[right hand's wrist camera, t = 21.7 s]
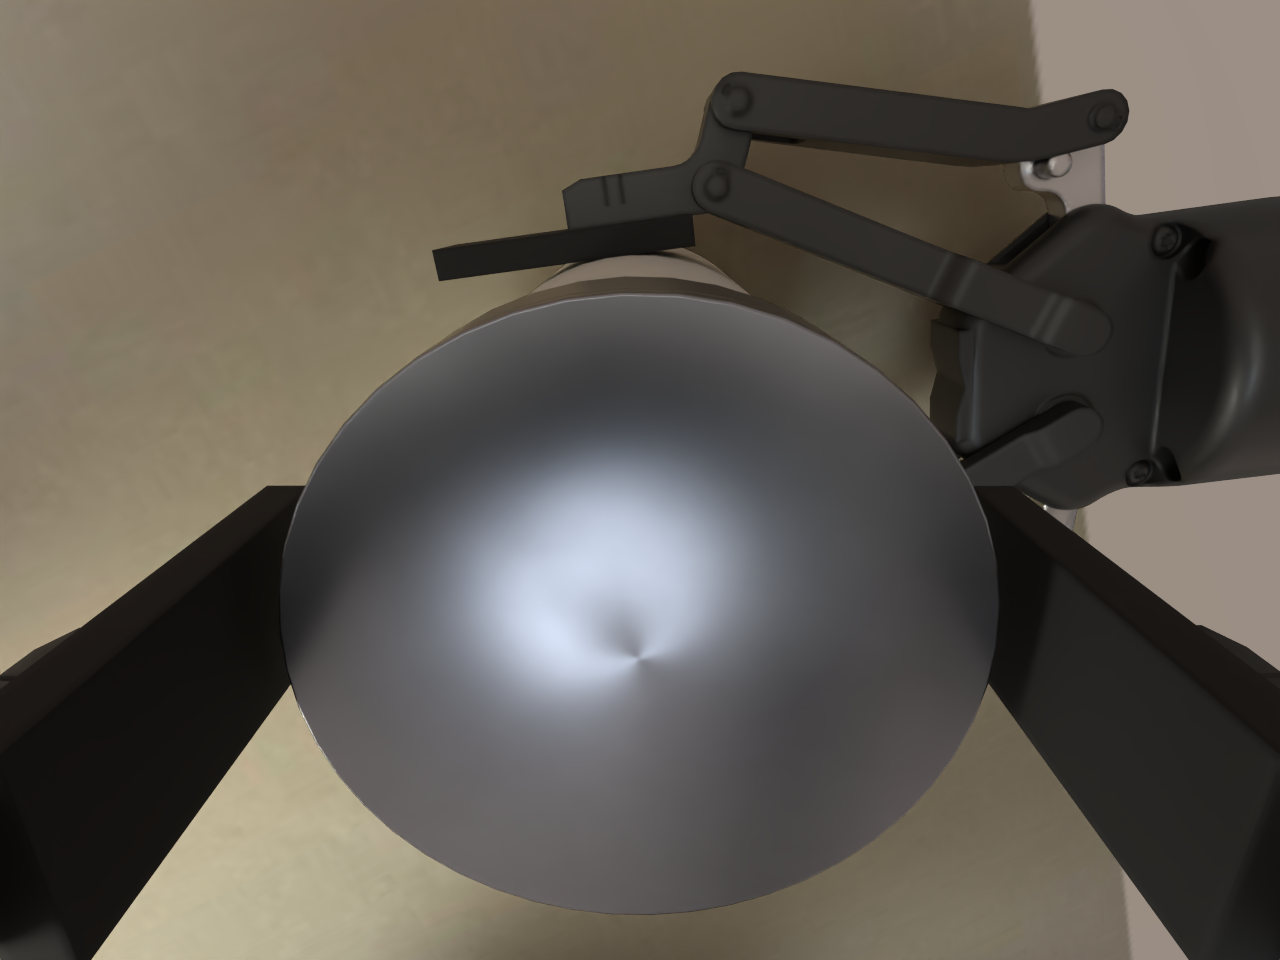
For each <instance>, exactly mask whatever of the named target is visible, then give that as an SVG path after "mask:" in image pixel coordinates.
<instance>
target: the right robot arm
mask: <svg viewBox="0 0 1280 960" xmlns="http://www.w3.org/2000/svg"><path fill="white" fill-rule="evenodd" d="M304 488H305V486H266V487H265V488H264V489H262V490H261V491H260V492H258V493H257V494H256V495H254V496H253V497H252V498H250V499H249V500H248V501H246V502H245V503H244V504H243V505H241V506H240V507H239V508H237V509H236V510H235V511H233V512H232V513H231V514H229V515H228V516H227V517H225V518H224V519H223V520H221V521H220V522H219V523H218V524H216V525H215V526H214V527H212V528H211V529H210V530H208V531H207V532H206V533H204V534H203V535H202V536H200V537H199V538H198V539H197V540H195V541H194V542H193V543H191V544H190V545H189V546H187V547H186V548H185V549H183V550H182V551H181V552H179V553H178V554H177V555H176V556H174V557H173V558H172V559H170V560H169V561H168V562H166V563H165V564H164V565H162V566H161V567H160V568H158V569H157V570H156V571H155V572H153V573H152V574H151V575H149V576H148V577H147V578H145V579H144V580H143V581H141V582H140V583H139V584H137V585H136V586H135V587H134V588H132V589H131V590H130V591H128V592H127V593H126V594H124V595H123V596H122V597H120V598H119V599H118V600H116V601H115V602H114V603H113V604H111V605H110V606H109V607H107V608H106V609H105V610H103V611H102V612H101V613H99V614H98V615H97V616H95V617H94V618H93V619H92V620H90V621H89V622H88V623H86V624H85V625H84V626H82V627H81V628H78V629H76V630H74V631H72V632H70V633H68V634H66V635H64V636H62V637H60V638H58V639H55V640H53V641H51V642H49V643H47V644H45V645H43V646H41V647H39V648H37V649H35V650H33V651H32V652H31V653H29V654H28V655H27V656H25V657H24V658H23V659H21V660H20V661H18V662H17V663H16V664H14V665H13V666H12V667H10V668H9V669H8V670H6V671H5V672H4V673H2V674H1V675H0V960H91V959H92V958H93V957H94V955H95V954H96V952H97V951H98V950H99V948H100V947H101V945H102V944H103V943H104V941H105V940H106V939H107V937H108V936H109V934H110V933H111V932H112V930H113V929H114V928H115V926H116V925H117V923H118V922H119V921H120V919H121V918H122V916H123V915H124V914H125V912H126V911H127V910H128V908H129V907H130V905H131V904H132V903H133V901H134V900H135V899H136V897H137V896H138V894H139V893H140V892H141V890H142V889H143V887H144V886H145V885H146V883H147V882H148V881H149V879H150V878H151V876H152V875H153V874H154V872H155V871H156V870H157V868H158V867H159V865H160V864H161V863H162V861H163V860H164V858H165V857H166V856H167V854H168V853H169V852H170V850H171V849H172V847H173V846H174V845H175V843H176V842H177V841H178V839H179V838H180V836H181V835H182V834H183V832H184V831H185V829H186V828H187V827H188V825H189V824H190V823H191V821H192V820H193V818H194V817H195V816H196V814H197V813H198V812H199V810H200V809H201V807H202V806H203V805H204V803H205V802H206V800H207V799H208V798H209V796H210V795H211V794H212V792H213V791H214V789H215V788H216V787H217V785H218V784H219V783H220V781H221V780H222V778H223V777H224V776H225V774H226V773H227V771H228V770H229V769H230V767H231V766H232V765H233V763H234V762H235V760H236V759H237V758H238V756H239V755H240V754H241V752H242V751H243V749H244V748H245V747H246V745H247V744H248V742H249V741H250V740H251V738H252V737H253V736H254V734H255V733H256V731H257V730H258V729H259V727H260V726H261V725H262V723H263V722H264V720H265V719H266V718H267V716H268V715H269V713H270V712H271V711H272V709H273V708H274V707H275V705H276V704H277V702H278V701H279V700H280V698H281V697H282V696H283V694H284V693H285V691H286V690H287V689H288V687H289V686H290V684H291V683H290V680H289V677H288V673H287V670H286V665H285V660H284V654H283V648H282V642H281V637H280V631H279V589H278V588H279V580H280V573H281V566H282V558H283V551H284V545H285V541H286V538H287V535H288V531H289V528H290V525H291V521H292V518H293V515H294V511H295V508H296V505H297V502H298V500H299V498H300V496H301V494H302V492H303V490H304ZM974 489H975V491H976V494H977V496H978V499H979V501H980V504H981V506H982V508H983V511H984V513H985V516H986V518H987V521H988V526H989V530H990V534H991V538H992V543H993V547H994V551H995V555H996V559H997V568H998V582H999V595H1000V614H999V626H998V639H997V647H996V652H995V656H994V660H993V665H992V669H991V673H990V678H989V682H988V683H989V684H990V686H991V687H992V689H993V690H994V691H995V693H996V694H997V695H998V697H999V698H1000V700H1001V701H1002V702H1003V704H1004V705H1005V707H1006V708H1007V709H1008V711H1009V712H1010V713H1011V715H1012V716H1013V718H1014V719H1015V720H1016V722H1017V723H1018V725H1019V726H1020V727H1021V729H1022V730H1023V731H1024V733H1025V734H1026V736H1027V737H1028V738H1029V740H1030V741H1031V742H1032V744H1033V745H1034V747H1035V748H1036V749H1037V751H1038V752H1039V754H1040V755H1041V756H1042V758H1043V759H1044V760H1045V762H1046V763H1047V765H1048V766H1049V767H1050V769H1051V770H1052V771H1053V773H1054V774H1055V776H1056V777H1057V778H1058V780H1059V781H1060V783H1061V784H1062V785H1063V787H1064V788H1065V789H1066V791H1067V792H1068V794H1069V795H1070V796H1071V798H1072V799H1073V800H1074V802H1075V803H1076V805H1077V806H1078V807H1079V809H1080V810H1081V812H1082V813H1083V814H1084V816H1085V817H1086V818H1087V820H1088V821H1089V823H1090V824H1091V825H1092V827H1093V828H1094V829H1095V831H1096V832H1097V834H1098V835H1099V836H1100V838H1101V839H1102V841H1103V842H1104V843H1105V845H1106V846H1107V847H1108V849H1109V850H1110V852H1111V853H1112V854H1113V856H1114V857H1115V858H1116V860H1117V861H1118V863H1119V864H1120V865H1121V867H1122V868H1123V870H1124V871H1125V872H1126V874H1127V875H1128V876H1129V878H1130V879H1131V881H1132V882H1133V883H1134V885H1135V886H1136V887H1137V889H1138V890H1139V892H1140V893H1141V894H1142V896H1143V897H1144V898H1145V900H1146V901H1147V903H1148V904H1149V905H1150V907H1151V908H1152V910H1153V911H1154V912H1155V914H1156V915H1157V916H1158V918H1159V919H1160V921H1161V922H1162V923H1163V925H1164V926H1165V927H1166V929H1167V930H1168V932H1169V933H1170V934H1171V936H1172V937H1173V938H1174V940H1175V941H1176V943H1177V944H1178V945H1179V947H1180V948H1181V950H1182V951H1183V952H1184V954H1185V955H1186V956H1187V958H1188V959H1189V960H1280V671H1279V670H1277V669H1276V668H1275V667H1273V666H1272V665H1270V664H1269V663H1268V662H1266V661H1265V660H1264V659H1262V658H1261V657H1260V656H1258V655H1257V654H1255V653H1254V652H1253V651H1251V650H1250V649H1249V648H1247V647H1246V646H1243V645H1241V644H1239V643H1237V642H1235V641H1233V640H1231V639H1229V638H1227V637H1225V636H1223V635H1221V634H1219V633H1216V632H1215V631H1212V630H1210V629H1208V628H1206V627H1204V626H1202V625H1195V624H1194V623H1192V622H1191V621H1190V620H1188V619H1187V618H1186V617H1185V616H1183V615H1182V614H1181V613H1179V612H1178V611H1177V610H1175V609H1174V608H1173V607H1171V606H1170V605H1169V604H1167V603H1166V602H1165V601H1163V600H1162V599H1161V598H1160V597H1158V596H1157V595H1156V594H1154V593H1153V592H1152V591H1150V590H1149V589H1148V588H1146V587H1145V586H1144V585H1142V584H1141V583H1140V582H1139V581H1137V580H1136V579H1135V578H1133V577H1132V576H1131V575H1129V574H1128V573H1127V572H1125V571H1124V570H1123V569H1121V568H1120V567H1119V566H1118V565H1116V564H1115V563H1114V562H1112V561H1111V560H1110V559H1108V558H1107V557H1106V556H1104V555H1103V554H1102V553H1101V552H1099V551H1098V550H1097V549H1095V548H1094V547H1093V546H1091V545H1090V544H1089V543H1087V542H1086V541H1085V540H1083V539H1082V538H1081V537H1080V536H1078V535H1077V534H1076V533H1074V532H1073V531H1072V530H1070V529H1069V528H1068V527H1066V526H1065V525H1064V524H1062V523H1061V522H1060V521H1059V520H1057V519H1056V518H1055V517H1053V516H1052V515H1051V514H1049V513H1048V512H1047V511H1045V510H1044V509H1043V508H1041V507H1040V506H1039V505H1037V504H1036V503H1035V502H1034V501H1032V500H1031V499H1030V498H1028V497H1027V496H1026V495H1024V494H1023V493H1022V492H1020V491H1019V490H1018V489H1016V488H1015V487H1014V486H974Z"/></svg>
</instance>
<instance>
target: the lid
mask: <svg viewBox="0 0 1280 960" xmlns="http://www.w3.org/2000/svg"><path fill="white" fill-rule="evenodd" d="M278 589H279V631H280V637H281V642H282V648H283V654H284V660H285V665H286V670H287V673H288V677H289V680H290V683H291V686H292V689H293V692H294V695H295V698H296V701H297V704H298V707H299V709H300V711H301V713H302V715H303V717H304V719H305V721H306V723H307V725H308V727H309V729H310V731H311V733H312V736H313V738H314V740H315V742H316V743H317V745H318V746H319V748H320V749H321V751H322V752H323V754H324V755H325V757H326V758H327V760H328V761H329V763H330V764H331V766H332V767H333V769H334V770H335V772H336V773H337V775H338V776H339V777H340V778H341V780H342V781H343V782H344V783H345V784H346V785H347V786H348V788H349V789H350V790H351V791H352V792H353V793H354V794H355V796H356V797H357V798H358V799H359V800H360V801H361V802H362V804H363V805H364V806H365V807H366V808H368V809H369V810H370V811H371V812H372V813H373V814H374V815H375V816H376V817H377V818H379V819H380V820H381V821H382V822H383V823H384V824H385V825H386V826H387V827H389V828H390V829H391V830H392V831H393V832H394V833H396V834H397V835H399V836H400V837H401V838H403V839H404V840H406V841H407V842H408V843H410V844H411V845H413V846H414V847H415V848H417V849H418V850H420V851H421V852H422V853H424V854H425V855H427V856H429V857H431V858H432V859H434V860H436V861H438V862H439V863H441V864H443V865H445V866H447V867H448V868H450V869H452V870H454V871H455V872H457V873H459V874H461V875H464V876H466V877H468V878H470V879H473V880H475V881H477V882H480V883H482V884H484V885H487V886H489V887H491V888H494V889H496V890H499V891H502V892H505V893H509V894H512V895H515V896H518V897H521V898H524V899H528V900H531V901H534V902H539V903H543V904H548V905H553V906H558V907H562V908H567V909H572V910H580V911H589V912H597V913H606V914H633V915H656V914H669V913H682V912H693V911H698V910H704V909H710V908H716V907H721V906H727V905H732V904H735V903H739V902H743V901H746V900H750V899H754V898H757V897H761V896H764V895H768V894H771V893H773V892H776V891H778V890H781V889H784V888H786V887H789V886H791V885H794V884H797V883H799V882H802V881H804V880H807V879H808V878H810V877H812V876H814V875H816V874H818V873H820V872H822V871H824V870H826V869H828V868H830V867H832V866H834V865H836V864H838V863H840V862H841V861H843V860H845V859H846V858H848V857H849V856H851V855H852V854H854V853H855V852H857V851H858V850H860V849H861V848H863V847H864V846H866V845H868V844H869V843H871V842H872V841H874V840H875V839H876V838H877V837H878V836H880V835H881V834H882V833H883V832H884V831H886V830H887V829H888V828H889V827H891V826H892V825H893V824H894V823H895V822H897V821H898V820H899V819H900V818H901V817H903V816H904V815H905V814H906V813H907V812H908V811H909V810H910V809H911V807H912V806H913V805H914V804H915V803H916V802H917V801H918V800H919V799H920V798H921V797H922V796H923V795H924V794H925V793H926V792H927V791H928V790H929V789H930V788H931V786H932V785H933V784H934V782H935V781H936V780H937V778H938V777H939V776H940V774H941V773H942V772H943V770H944V769H945V768H946V766H947V765H948V764H949V762H950V761H951V759H952V758H953V757H954V755H955V754H956V752H957V750H958V748H959V746H960V745H961V743H962V741H963V739H964V737H965V736H966V734H967V732H968V730H969V728H970V727H971V725H972V723H973V721H974V719H975V716H976V714H977V711H978V709H979V706H980V703H981V701H982V698H983V696H984V693H985V691H986V688H987V685H988V682H989V678H990V673H991V669H992V665H993V660H994V656H995V652H996V647H997V639H998V626H999V614H1000V595H999V582H998V568H997V559H996V555H995V551H994V547H993V543H992V538H991V534H990V530H989V526H988V521H987V518H986V516H985V513H984V511H983V508H982V506H981V504H980V501H979V499H978V496H977V494H976V491H975V489H974V486H973V484H972V482H971V479H970V477H969V476H968V474H967V472H966V471H965V469H964V467H963V466H962V464H961V462H960V461H959V459H958V457H957V456H956V454H955V453H954V451H953V449H952V448H951V446H950V444H949V443H948V441H947V439H946V438H945V437H944V436H943V434H942V433H941V432H940V431H939V430H938V428H937V427H936V426H935V425H934V424H933V422H932V421H931V420H930V419H929V418H928V417H927V415H926V414H925V413H924V412H923V411H922V409H921V408H920V407H919V406H918V405H917V403H916V402H915V401H914V400H912V399H911V398H910V397H909V396H908V395H907V394H906V393H905V392H903V391H902V390H901V389H900V388H899V387H898V386H897V385H895V384H894V383H893V382H892V381H891V380H890V379H889V378H888V377H886V376H885V375H884V374H883V373H882V372H881V371H880V370H878V369H877V368H876V367H874V366H873V365H872V364H870V363H869V362H867V361H866V360H864V359H863V358H862V357H860V356H859V355H857V354H856V353H854V352H853V351H852V350H850V349H849V348H847V347H846V346H844V345H843V344H842V343H840V342H839V341H837V340H836V339H834V338H833V337H831V336H830V335H828V334H826V333H825V332H823V331H822V330H820V329H819V328H817V327H816V326H814V325H813V324H811V323H810V322H808V321H806V320H805V319H803V318H802V317H800V316H798V315H795V314H793V313H791V312H789V311H787V310H785V309H783V308H780V307H778V306H776V305H774V304H772V303H770V302H768V301H765V300H763V299H761V298H758V297H755V296H751V295H748V294H745V293H742V292H738V291H735V290H732V289H729V288H725V287H722V286H719V285H714V284H708V283H702V282H696V281H690V280H684V279H677V278H670V277H632V276H623V277H614V278H605V279H596V280H587V281H578V282H574V283H570V284H566V285H562V286H558V287H554V288H550V289H546V290H542V291H538V292H534V293H532V294H529V295H527V296H524V297H522V298H519V299H517V300H514V301H512V302H509V303H507V304H504V305H502V306H499V307H497V308H494V309H492V310H490V311H488V312H487V313H485V314H483V315H481V316H480V317H478V318H476V319H475V320H473V321H471V322H469V323H468V324H466V325H464V326H462V327H461V328H459V329H457V330H455V331H454V332H452V333H451V334H449V335H448V336H446V337H445V338H444V339H442V340H441V341H439V342H438V343H436V344H435V345H434V346H432V347H431V348H429V349H428V350H426V351H425V352H424V353H422V354H421V355H419V356H418V357H416V358H415V359H414V360H413V361H411V362H410V363H409V364H407V365H406V366H405V367H404V368H402V369H401V370H400V371H399V372H397V373H396V374H395V375H393V376H392V377H391V378H390V379H388V380H387V381H386V382H385V383H383V384H382V385H381V386H379V387H378V388H377V389H376V390H375V391H374V392H373V393H372V394H371V395H370V396H369V397H368V398H367V400H366V401H365V402H364V403H363V404H362V405H361V406H360V407H359V408H358V409H357V410H356V411H355V412H354V413H353V414H352V415H351V416H350V418H349V419H348V420H347V421H346V422H345V423H344V424H343V425H342V427H341V428H340V430H339V431H338V432H337V434H336V435H335V437H334V438H333V440H332V441H331V443H330V444H329V445H328V447H327V448H326V450H325V451H324V453H323V454H322V456H321V457H320V458H319V460H318V461H317V463H316V465H315V467H314V469H313V471H312V473H311V475H310V477H309V479H308V481H307V484H306V486H305V488H304V490H303V492H302V494H301V496H300V498H299V500H298V502H297V505H296V508H295V511H294V515H293V518H292V521H291V525H290V528H289V531H288V535H287V538H286V541H285V545H284V551H283V558H282V566H281V573H280V580H279V588H278Z"/></svg>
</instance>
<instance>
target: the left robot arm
mask: <svg viewBox="0 0 1280 960" xmlns="http://www.w3.org/2000/svg"><path fill="white" fill-rule="evenodd" d="M1128 115H1129V107H1128V102H1127V100H1126V98H1125V97H1124V96H1123V95H1122V93H1120V92H1118V91H1116V90H1114V89H1106V90H1099V91H1095V92H1091V93H1087V94H1083V95H1079V96H1074V97H1070V98H1067V99H1062V100H1058V101H1054V102H1050V103H1046V104H1042V105H1038V106H1034V107H1030V108H1023V107H1015V106H1007V105H999V104H991V103H983V102H976V101H968V100H960V99H952V98H944V97H936V96H928V95H921V94H913V93H905V92H897V91H889V90H881V89H873V88H866V87H858V86H850V85H842V84H834V83H826V82H818V81H811V80H803V79H795V78H787V77H779V76H771V75H764V74H756V73H748V72H733V73H730V74H728V75H727V76H725V77H723V78H722V79H721V80H720V82H719V83H718V84H717V85H716V87H715V88H714V90H713V91H712V93H711V94H710V96H709V97H708V99H707V101H706V104H705V107H704V115H703V119H702V124H701V128H700V132H699V137H698V141H697V145H696V148H695V150H694V152H693V154H692V155H691V157H690V158H689V159H688V160H687V161H685V162H683V163H682V164H679V165H676V166H671V167H664V168H657V169H650V170H643V171H636V172H629V173H622V174H615V175H608V176H601V177H594V178H587V179H580V180H579V181H577V182H575V183H574V184H572V185H571V186H569V187H567V188H566V189H564V190H562V193H563V200H564V206H565V213H566V219H567V225H568V229H565V230H558V231H551V232H543V233H536V234H529V235H522V236H515V237H507V238H500V239H493V240H486V241H479V242H472V243H464V244H457V245H453V246H449V247H444V248H440V249H436V250H432V252H433V256H434V261H435V265H436V270H437V274H438V279H439V281H444V280H451V279H459V278H466V277H473V276H481V275H488V274H495V273H502V272H510V271H517V270H524V269H532V268H539V267H546V266H554V265H561V264H568V263H575V262H583V261H590V260H597V259H605V258H612V257H619V256H626V255H634V254H641V253H648V252H656V251H663V250H670V249H677V248H685V247H692V246H695V238H694V228H693V218H692V215H698V214H706V213H709V214H712V215H714V216H717V217H719V218H722V219H724V220H727V221H729V222H732V223H734V224H737V225H739V226H742V227H745V228H747V229H750V230H752V231H755V232H757V233H760V234H762V235H765V236H767V237H770V238H772V239H775V240H777V241H780V242H783V243H785V244H788V245H790V246H793V247H795V248H798V249H800V250H803V251H805V252H808V253H810V254H813V255H816V256H818V257H821V258H823V259H826V260H828V261H831V262H833V263H836V264H838V265H841V266H843V267H846V268H849V269H851V270H854V271H856V272H859V273H861V274H864V275H866V276H869V277H871V278H874V279H876V280H879V281H882V282H884V283H887V284H889V285H892V286H894V287H897V288H899V289H901V290H904V291H906V292H909V293H911V294H914V295H916V296H919V297H921V298H924V299H926V300H929V301H931V302H934V303H936V304H939V305H942V306H943V307H942V309H941V312H940V314H939V317H938V319H933V320H931V343H930V346H931V350H932V353H933V357H934V361H935V364H936V368H937V375H936V378H935V382H934V386H933V389H932V393H931V396H930V420H931V421H932V422H933V424H934V425H935V426H936V427H937V428H938V430H939V431H940V432H941V433H942V434H943V436H944V437H945V438H946V439H947V441H948V443H949V444H950V446H951V448H952V449H953V451H954V453H955V454H956V456H957V457H958V459H959V458H960V457H962V458H963V459H964V460H962V461H960V462H961V464H962V466H963V467H964V469H965V471H966V472H967V474H968V476H969V477H970V479H971V482H972V484H973V486H1014V487H1015V488H1016V489H1018V490H1019V491H1020V492H1022V493H1024V494H1026V495H1027V496H1029V498H1030V499H1031V500H1032V501H1034V502H1035V503H1036V504H1037V505H1039V506H1040V507H1041V508H1043V509H1044V510H1045V511H1047V512H1048V513H1049V514H1051V515H1052V516H1053V517H1055V518H1056V519H1057V520H1059V521H1060V522H1061V523H1062V524H1064V525H1065V526H1066V527H1068V528H1069V529H1070V530H1072V531H1073V528H1074V523H1075V518H1076V513H1077V509H1079V508H1083V507H1085V506H1088V505H1090V504H1092V503H1093V502H1095V501H1097V500H1098V499H1100V498H1101V497H1103V496H1105V495H1107V494H1109V493H1112V492H1114V491H1116V490H1119V489H1122V488H1127V487H1160V486H1180V485H1189V484H1197V483H1205V482H1214V481H1222V480H1231V479H1239V478H1247V477H1256V476H1264V475H1272V474H1280V196H1279V197H1268V198H1261V199H1254V200H1246V201H1239V202H1232V203H1225V204H1217V205H1209V206H1202V207H1195V208H1187V209H1180V210H1173V211H1166V212H1158V213H1151V214H1143V215H1132V214H1129V213H1126V212H1124V211H1122V210H1120V209H1118V208H1116V207H1114V206H1110V205H1106V204H1105V158H1104V144H1106V143H1108V142H1110V141H1112V140H1114V139H1115V138H1116V137H1117V136H1118V135H1119V134H1120V133H1121V132H1122V131H1123V129H1124V127H1125V125H1126V123H1127V121H1128ZM751 141H759V142H767V143H775V144H783V145H791V146H799V147H807V148H815V149H823V150H831V151H840V152H848V153H856V154H864V155H872V156H880V157H888V158H896V159H904V160H912V161H920V162H928V163H937V164H945V165H953V166H967V167H976V166H990V165H1000V164H1004V169H1003V172H1004V176H1005V180H1006V181H1007V183H1008V185H1009V186H1010V187H1011V188H1012V189H1014V190H1017V191H1022V192H1034V193H1036V194H1039V195H1040V196H1041V197H1042V198H1043V199H1044V201H1045V202H1046V204H1047V210H1048V212H1047V213H1046V214H1044V215H1043V216H1042V217H1040V218H1039V219H1038V220H1037V221H1036V222H1035V223H1033V224H1032V225H1031V226H1030V227H1029V228H1027V229H1026V230H1025V231H1024V232H1023V233H1022V234H1020V235H1019V236H1018V237H1017V238H1016V239H1015V240H1013V241H1012V242H1011V243H1010V244H1009V245H1008V246H1006V247H1005V248H1004V249H1003V250H1002V251H1000V252H999V253H998V254H997V255H996V256H995V257H993V258H992V259H991V260H990V261H989V262H988V263H986V264H984V263H982V262H979V261H976V260H974V259H971V258H968V257H965V256H962V255H958V254H955V253H952V252H950V251H947V250H945V249H942V248H940V247H937V246H935V245H932V244H930V243H927V242H925V241H922V240H920V239H917V238H915V237H912V236H910V235H908V234H905V233H903V232H900V231H898V230H895V229H893V228H890V227H888V226H885V225H883V224H880V223H878V222H875V221H873V220H870V219H868V218H866V217H863V216H861V215H858V214H856V213H853V212H851V211H848V210H846V209H843V208H841V207H838V206H836V205H833V204H831V203H828V202H826V201H824V200H821V199H819V198H816V197H814V196H811V195H809V194H806V193H804V192H801V191H799V190H796V189H794V188H791V187H789V186H786V185H784V184H782V183H779V182H777V181H774V180H772V179H769V178H767V177H764V176H762V175H759V174H757V173H754V172H752V171H749V170H747V169H744V167H745V163H746V159H747V155H748V151H749V147H750V143H751Z"/></svg>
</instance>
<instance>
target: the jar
mask: <svg viewBox="0 0 1280 960" xmlns="http://www.w3.org/2000/svg"><path fill="white" fill-rule="evenodd" d="M623 276H632V277H670V278H677V279H684V280H690V281H696V282H702V283H708V284H714V285H719V286H722V287H725V288H729V289H732V290H735V291H738V292H742V293H745V294H748V295H750V294H749V293H747V292H746V291H745V290H744V289H743V288H741V287H740V286H739V285H738V284H737V283H735V282H734V281H733V280H732V279H731V278H729V277H728V276H727V275H726V274H725V273H724V272H722V271H721V270H720V269H719V268H718V267H716V266H715V265H714V264H712V263H711V262H709V261H707V260H706V259H704V258H703V257H701V256H699V255H697V254H695V253H693V252H691V251H689V250H686V249H684V248H677V249H670V250H663V251H656V252H648V253H641V254H634V255H626V256H619V257H612V258H605V259H597V260H590V261H583V262H575V263H568V264H565V265H564V266H563V267H561V268H560V269H559V270H558V271H556V272H555V273H554V274H553V275H552V276H550V277H549V278H548V279H547V280H546V281H544V282H543V283H542V284H541V285H540V286H538V287H537V288H536V289H535V290H534V291H532V292H531V293H530V294H532V293H534V292H538V291H542V290H546V289H550V288H554V287H558V286H562V285H566V284H570V283H574V282H578V281H587V280H596V279H605V278H614V277H623Z"/></svg>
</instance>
